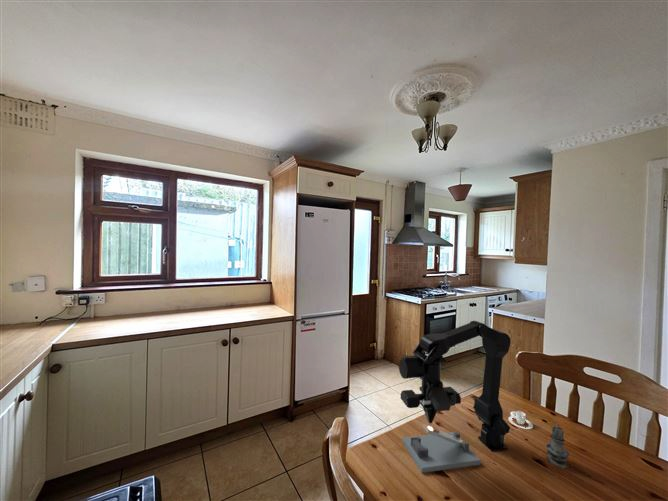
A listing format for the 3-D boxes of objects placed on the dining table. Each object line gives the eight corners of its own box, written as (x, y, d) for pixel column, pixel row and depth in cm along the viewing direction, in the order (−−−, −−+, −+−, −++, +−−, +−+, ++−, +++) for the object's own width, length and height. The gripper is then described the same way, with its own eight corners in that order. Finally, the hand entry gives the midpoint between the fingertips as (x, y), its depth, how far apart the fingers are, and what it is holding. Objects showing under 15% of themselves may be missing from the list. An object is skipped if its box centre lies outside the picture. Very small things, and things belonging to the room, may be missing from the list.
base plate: (454, 435, 96) (454, 424, 96) (480, 464, 83) (480, 451, 83) (402, 441, 92) (403, 430, 92) (421, 472, 79) (421, 459, 79)
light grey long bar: (459, 442, 91) (461, 436, 91) (465, 448, 88) (467, 442, 88) (422, 427, 88) (425, 421, 88) (427, 433, 85) (429, 427, 85)
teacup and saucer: (508, 413, 111) (509, 404, 111) (532, 421, 106) (532, 411, 106) (507, 424, 103) (508, 414, 103) (533, 433, 99) (533, 422, 99)
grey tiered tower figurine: (573, 470, 82) (574, 431, 82) (552, 466, 83) (553, 428, 83) (561, 455, 88) (562, 419, 88) (541, 452, 89) (542, 417, 89)
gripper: (416, 390, 77) (415, 443, 77) (473, 385, 81) (472, 436, 81) (400, 372, 88) (399, 419, 88) (450, 369, 92) (449, 414, 92)
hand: (429, 422), depth 87 cm, fingers closed
